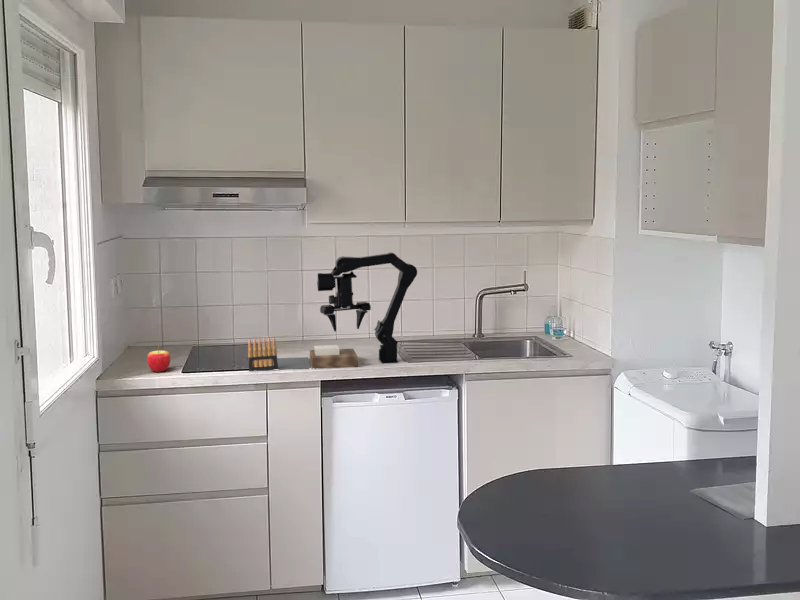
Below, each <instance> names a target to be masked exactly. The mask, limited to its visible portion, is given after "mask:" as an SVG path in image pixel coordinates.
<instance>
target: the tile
mask: <svg viewBox="0 0 800 600" xmlns="http://www.w3.org/2000/svg"><path fill="white" fill-rule="evenodd" d="M313 347H314V349H313V350H314V352H315V355H316V356H321V355H339V349H340V347H339V345H338V344H330V345H325V344H324V345H314V346H313Z"/></svg>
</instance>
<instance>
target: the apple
mask: <svg viewBox="0 0 800 600" xmlns="http://www.w3.org/2000/svg"><path fill="white" fill-rule="evenodd" d="M146 361H147V365H148V367H149V369H150V370H151V371H152V372H155V373H161V372H165V371H167V369H168V368H169V367H170V364H171V353H170V352H169V351H167V350H162V349H161V350H160V343H158V347H157V350H153V351H150V352H148V354H147V357H146Z"/></svg>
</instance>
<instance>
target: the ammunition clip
mask: <svg viewBox="0 0 800 600" xmlns="http://www.w3.org/2000/svg"><path fill="white" fill-rule="evenodd" d="M247 340H248V341H247V342H248V343H247V354H248V355H247V356H248V359H247V360H248V372H254V370H257V371H267V370H268V371H269V370H273V369H278V362H277V358H278V353H277V352H278V351H277V350H278V349H277V344H276V339H275V336H272V340H271V339H270V337H269V336H268V337H267V343H266V338H265V337H263V338H262V342H261V338H260V337H258V339H257V341H256V339H255V337H254V338H253V340H252V342H251V339H250V338H248V339H247ZM271 341H272V342H271Z"/></svg>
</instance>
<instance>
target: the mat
mask: <svg viewBox="0 0 800 600" xmlns="http://www.w3.org/2000/svg"><path fill="white" fill-rule="evenodd" d="M277 362H278V369H292V370H310V369H309V368H311V369H312V365H311V362H310V357H308V356H306V357H305V356H304V357H280V358H279V357H277Z"/></svg>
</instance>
